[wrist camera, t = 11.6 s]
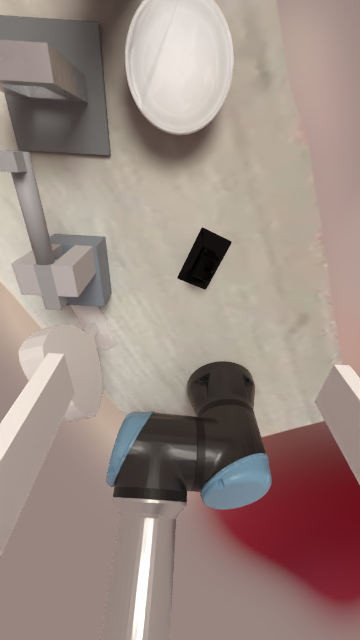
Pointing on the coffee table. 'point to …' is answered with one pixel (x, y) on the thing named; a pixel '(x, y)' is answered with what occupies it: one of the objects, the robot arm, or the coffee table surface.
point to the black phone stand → (204, 258)
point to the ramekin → (179, 63)
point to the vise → (55, 250)
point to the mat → (54, 116)
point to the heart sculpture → (74, 357)
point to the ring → (39, 73)
